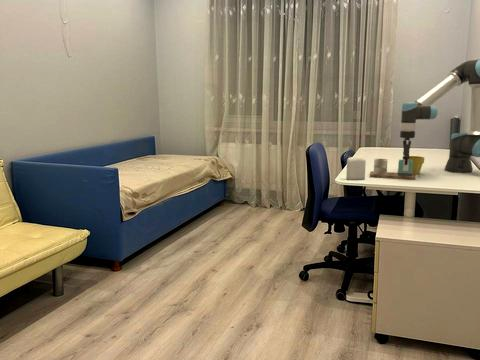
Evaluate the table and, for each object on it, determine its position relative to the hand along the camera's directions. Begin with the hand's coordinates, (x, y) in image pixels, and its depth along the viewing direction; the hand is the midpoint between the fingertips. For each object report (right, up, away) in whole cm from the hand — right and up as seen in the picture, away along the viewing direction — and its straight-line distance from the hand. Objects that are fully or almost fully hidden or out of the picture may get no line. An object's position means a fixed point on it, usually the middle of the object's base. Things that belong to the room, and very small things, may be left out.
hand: (405, 168), depth 244 cm
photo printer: (-29, -6, -4) cm, 30 cm away
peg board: (-6, -4, +3) cm, 8 cm away
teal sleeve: (0, -3, +1) cm, 3 cm away
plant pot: (+10, -2, +14) cm, 18 cm away
